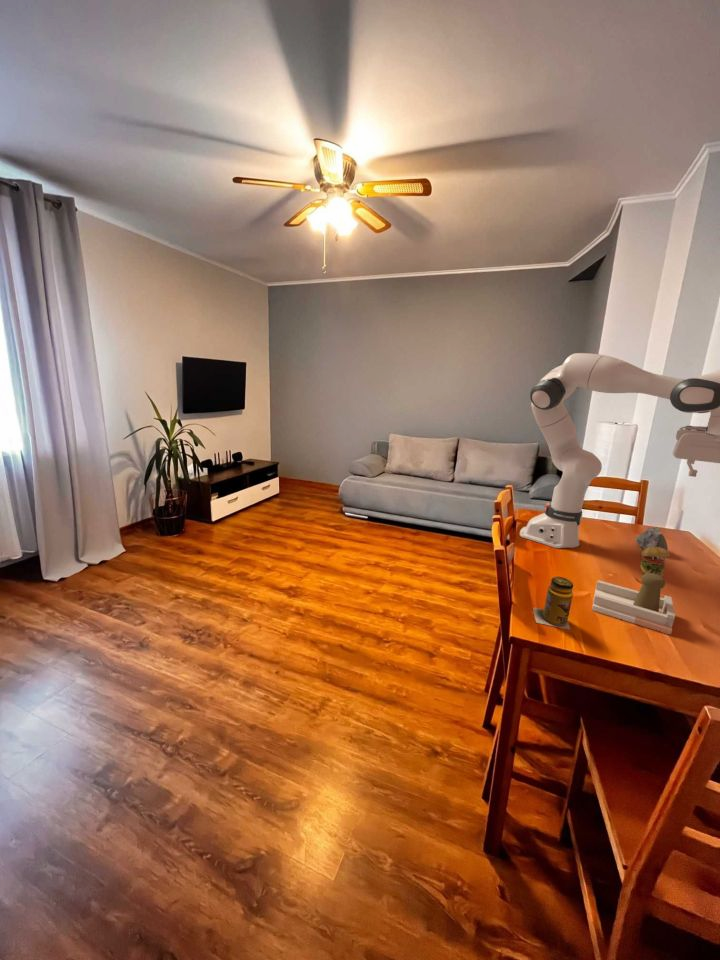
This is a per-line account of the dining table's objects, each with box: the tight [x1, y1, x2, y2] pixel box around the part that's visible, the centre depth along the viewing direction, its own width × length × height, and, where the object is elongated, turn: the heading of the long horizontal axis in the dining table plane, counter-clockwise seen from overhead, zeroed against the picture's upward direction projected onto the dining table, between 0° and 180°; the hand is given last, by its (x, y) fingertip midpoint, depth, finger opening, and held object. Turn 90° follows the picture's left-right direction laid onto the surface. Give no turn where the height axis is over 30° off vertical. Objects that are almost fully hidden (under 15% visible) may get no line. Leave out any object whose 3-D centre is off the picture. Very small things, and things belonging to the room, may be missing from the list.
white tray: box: [591, 579, 676, 636], centre depth 110 cm, size 18×14×5 cm
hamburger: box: [640, 541, 671, 578], centre depth 131 cm, size 8×7×12 cm
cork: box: [633, 573, 666, 612], centre depth 107 cm, size 6×6×11 cm
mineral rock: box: [635, 526, 669, 552], centre depth 152 cm, size 13×11×10 cm
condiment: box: [532, 576, 574, 630], centre depth 103 cm, size 7×8×12 cm
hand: (714, 479), depth 104 cm, fingers open, 8 cm apart
